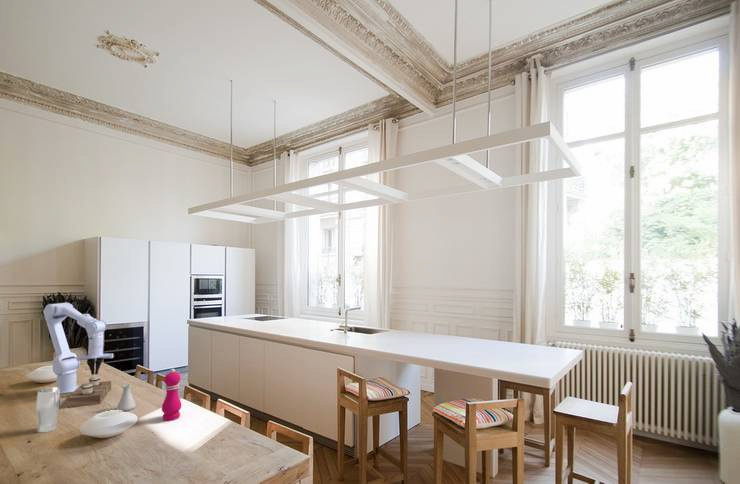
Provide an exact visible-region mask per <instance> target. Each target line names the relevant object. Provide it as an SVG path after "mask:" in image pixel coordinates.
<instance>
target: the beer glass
mask: <svg viewBox="0 0 740 484" xmlns="http://www.w3.org/2000/svg"><path fill="white" fill-rule="evenodd" d="M60 403H61V394H60V388H59V387H56V386H50V387H45V388H42V389H39V390H38V391H37V396H36V402H35V404H36V406H35V407H36V413H37V418H38V424H37V428H36V433H39V434H43V433H48V432H52V431H54V430H57V428H58V422H57V418H58V417H57V416H58V412H59V408H60Z"/></svg>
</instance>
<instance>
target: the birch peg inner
mask: <svg viewBox="0 0 740 484" xmlns="http://www.w3.org/2000/svg"><path fill="white" fill-rule="evenodd" d="M100 380H101V377H100V376H94V377H90V378H89V379H88V382H89V384H93V385H94V386H93V387H97V386H99V382H101V381H100Z"/></svg>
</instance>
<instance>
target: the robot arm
mask: <svg viewBox="0 0 740 484" xmlns="http://www.w3.org/2000/svg"><path fill="white" fill-rule="evenodd" d="M42 313H43V316H44V319H45V322H46V325H47V329H48V332H49V335H50V338H51V339H50V340H51V342H52V346H53V349H54V351H55V354H56V356H55V357H54V358H53V360H52V361H51V363H52V372H53V373H54V375H55V376H56V384H55V385H56V386H55V387H59V388H60V395H61V394H69V393H70V394H71V393H74V392H75V391H76V390H77V389H78V388H79V387H80V385H77V379H78V378H77V373H76V372H77V371H78V370H79V368H80V366H81V362H80V361H86V365H88V368H89V369H90V370H89V371H90V373H91V376H93V375H98V374H99V370H100V367H101V364H102V363H103V361H104V359H113V358H114V353H103V351H104V332H106V330H107V328H108V326H107V323H106V322H105V321H104V320H103V319H101V320H97V318H94V317H93V316H91V314H90V313H81V312H80V311H78V310H77V309H76V308H75V307H74V305H73V304H71V303H70V302H67V301H65V302H59V303H48V304H47V305H45V307H44V309H43V311H42ZM67 317H69V318H72V319H74V320H76V323H77V325H79V326H81V327H82V328H84V329H85V331H86V333H87V337H88V352H87V353H88V354H87V355H86V354H84V355H78V356H77V354H76V353H74V352H72V351H71V349H70V347H69V344H68V341H67V337H66V334H65V331H64V327H63V324H62V322H64V320H65V319H66V318H67Z"/></svg>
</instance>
